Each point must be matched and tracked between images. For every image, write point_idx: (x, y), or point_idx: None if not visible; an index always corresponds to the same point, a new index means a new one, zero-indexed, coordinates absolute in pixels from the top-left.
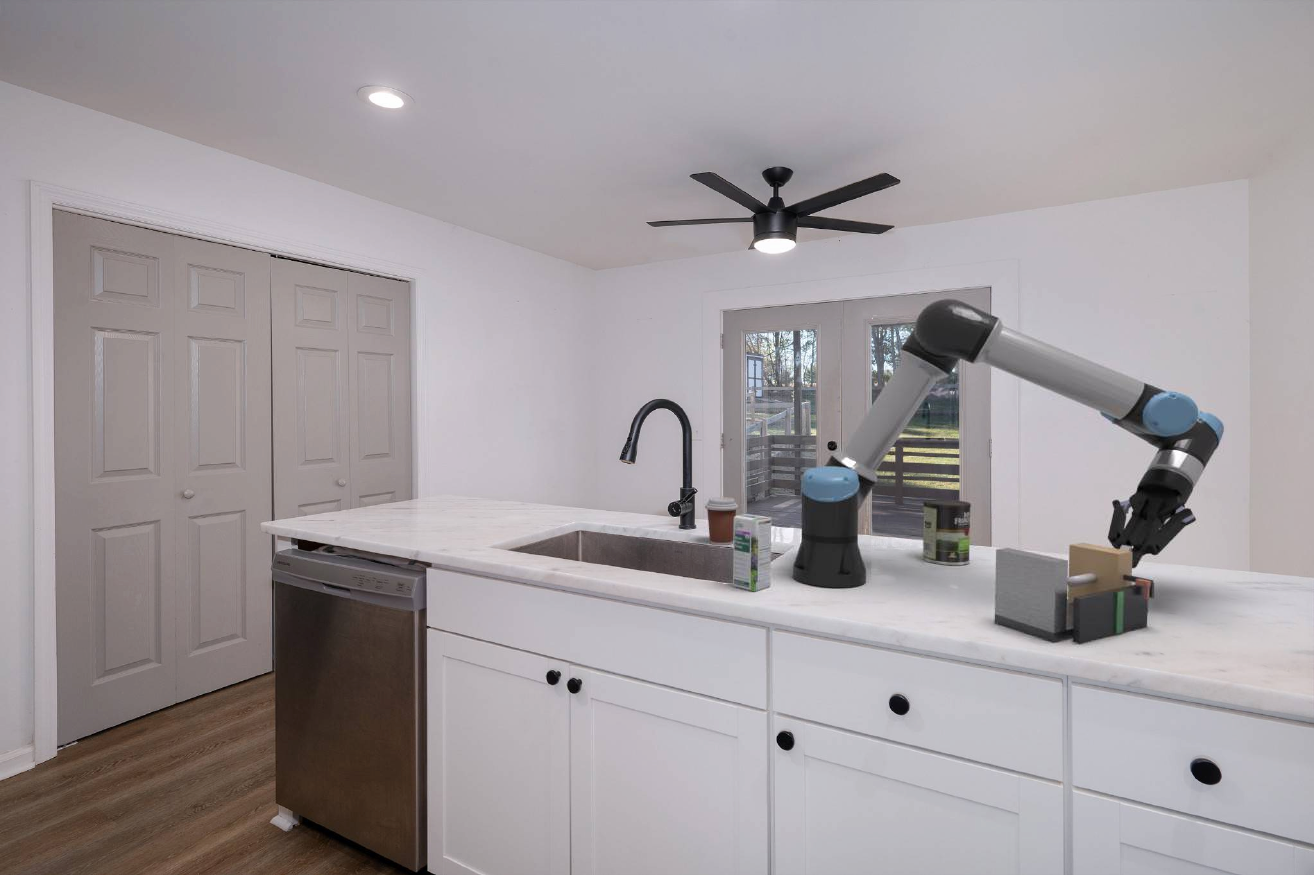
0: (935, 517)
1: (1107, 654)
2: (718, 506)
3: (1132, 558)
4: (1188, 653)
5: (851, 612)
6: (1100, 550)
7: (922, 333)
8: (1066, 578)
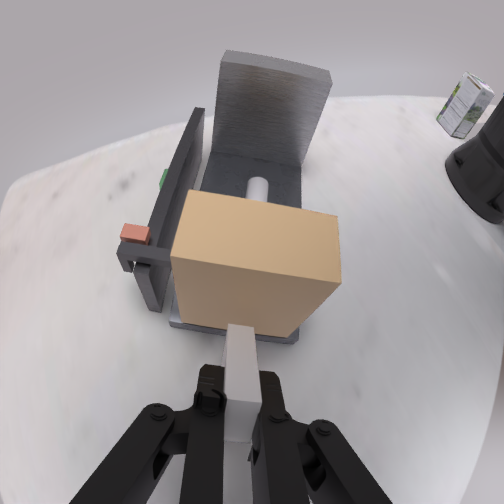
0: None
1: (158, 152)
2: None
3: (207, 378)
4: (83, 223)
5: (375, 114)
6: (243, 200)
7: None
8: (218, 85)
